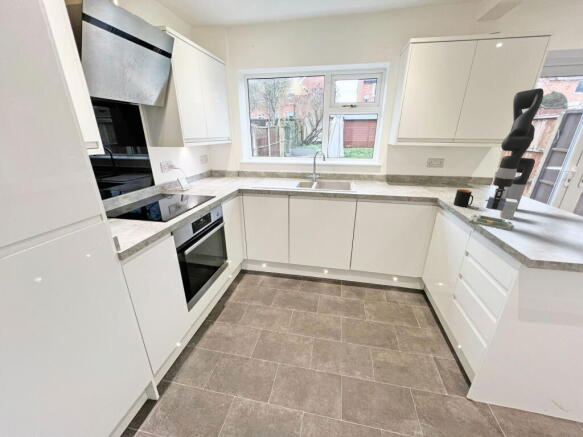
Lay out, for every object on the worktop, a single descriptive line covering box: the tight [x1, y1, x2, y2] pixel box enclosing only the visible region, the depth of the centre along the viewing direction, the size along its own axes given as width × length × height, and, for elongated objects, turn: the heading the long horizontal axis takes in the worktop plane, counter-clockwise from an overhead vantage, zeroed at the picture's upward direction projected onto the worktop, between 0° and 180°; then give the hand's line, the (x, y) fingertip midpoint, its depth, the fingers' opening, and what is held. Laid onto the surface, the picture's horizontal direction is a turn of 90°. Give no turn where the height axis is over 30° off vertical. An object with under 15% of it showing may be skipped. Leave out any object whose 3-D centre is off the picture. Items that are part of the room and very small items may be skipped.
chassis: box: [468, 214, 513, 231], centre depth 130 cm, size 12×18×3 cm, turn 47°
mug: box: [453, 189, 474, 208], centre depth 159 cm, size 8×12×10 cm
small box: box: [499, 198, 519, 220], centre depth 139 cm, size 8×6×10 cm
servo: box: [485, 196, 509, 212], centre depth 126 cm, size 4×10×7 cm, turn 46°
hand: (494, 207), depth 127 cm, fingers closed on servo, 4 cm apart
